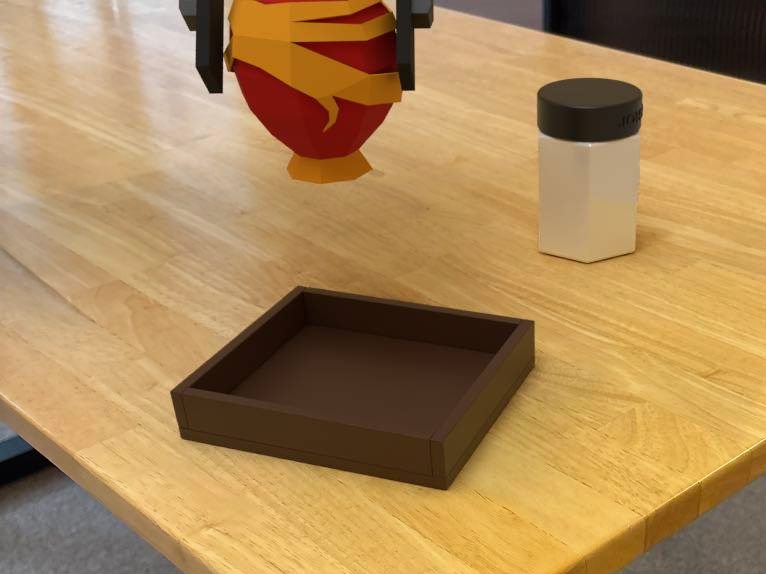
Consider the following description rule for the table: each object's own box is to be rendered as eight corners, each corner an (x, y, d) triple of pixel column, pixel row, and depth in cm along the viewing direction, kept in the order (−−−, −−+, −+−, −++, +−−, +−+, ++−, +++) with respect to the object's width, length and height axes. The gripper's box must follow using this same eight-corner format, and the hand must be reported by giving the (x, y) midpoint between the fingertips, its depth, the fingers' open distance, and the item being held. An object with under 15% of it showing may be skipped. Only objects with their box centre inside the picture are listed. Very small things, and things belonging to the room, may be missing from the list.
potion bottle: (211, 167, 66) (157, -117, 57) (352, 130, 72) (322, -134, 63) (304, 215, 60) (260, -94, 51) (450, 170, 66) (434, -116, 56)
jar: (639, 264, 86) (647, 108, 79) (536, 264, 86) (536, 108, 79) (632, 221, 93) (640, 75, 86) (538, 221, 93) (537, 75, 86)
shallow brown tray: (180, 438, 66) (169, 391, 64) (304, 327, 78) (297, 284, 76) (446, 490, 62) (442, 441, 60) (535, 364, 73) (534, 320, 71)
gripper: (505, -229, 67) (513, 111, 64) (134, -226, 66) (126, 117, 63) (503, -343, 59) (512, 36, 56) (85, -340, 59) (73, 42, 56)
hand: (308, 79), depth 60 cm, fingers closed on potion bottle, 10 cm apart
